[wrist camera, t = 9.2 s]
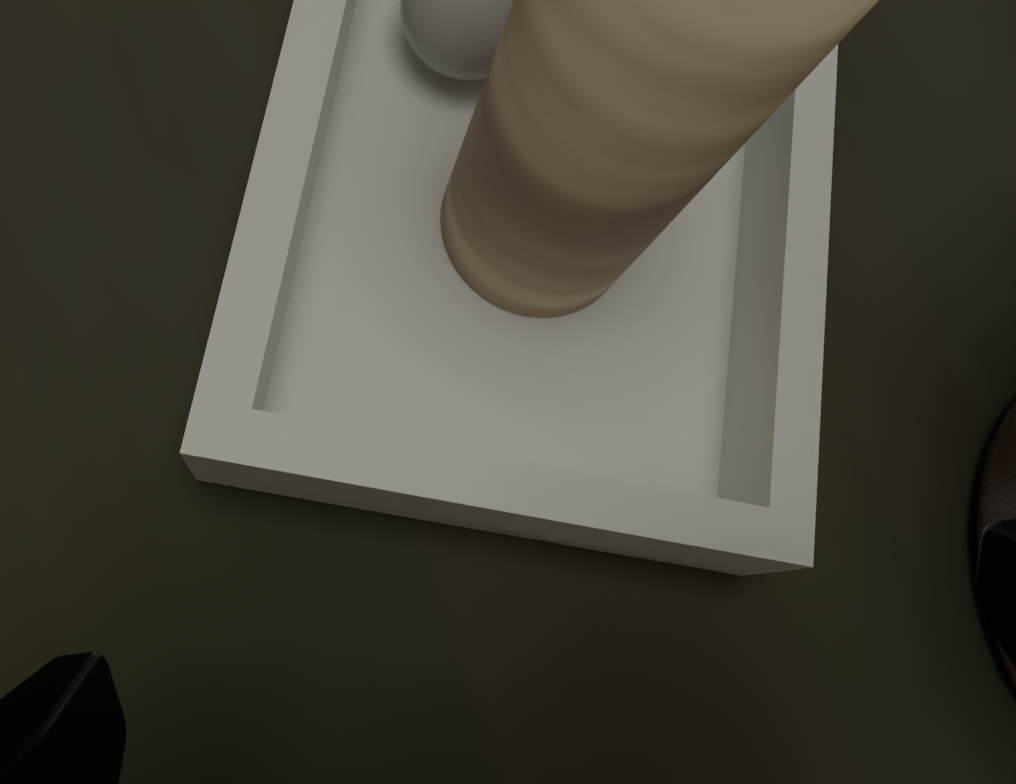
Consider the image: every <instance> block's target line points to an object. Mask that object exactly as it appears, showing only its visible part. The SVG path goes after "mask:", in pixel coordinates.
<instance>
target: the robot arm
mask: <svg viewBox="0 0 1016 784" xmlns="http://www.w3.org/2000/svg"><path fill="white" fill-rule="evenodd" d="M975 598H976V602H977V606H978V608H979V610H980V612H981V614H982V616H983V618H984V619H985V621H986V622H987V624H988V626H989V627H990V629H991V630H992V632H993V634H994V635H995V637H996V638H997V640H998V642H999V643H1000V645H1001V646H1002V648H1003V650H1004V651H1005V653H1006V654H1007V656H1008V658H1009V659H1010V661H1011V662H1012V664H1013V666H1014V667H1015V669H1016V518H1015V519H1009V520H1002V521H995V522H991V523H990V524H988V525H987V526H986V527H985V529H984V530H983V532H982V536H981V542H980V550H979V558H978V565H977V573H976V580H975ZM125 743H126V722H125V717H124V713H123V710H122V707H121V704H120V700H119V697H118V694H117V691H116V688H115V684H114V681H113V678H112V675H111V672H110V668H109V665H108V663H107V661H106V659H105V658H104V656H103V655H102V654H100V653H98V652H96V651H92V652H85V653H78V654H71V655H64V656H59V657H56V658H54V659H52V660H51V661H50V662H48V663H47V664H46V665H44V666H43V667H42V668H41V669H39V670H38V671H37V672H35V673H34V674H33V675H31V676H30V677H29V678H27V679H26V680H25V681H24V682H22V683H21V684H20V685H18V686H17V687H16V688H14V689H13V690H12V691H11V692H9V693H8V694H7V695H5V696H4V697H3V698H1V699H0V784H119V778H120V772H121V767H122V761H123V755H124V749H125Z"/></svg>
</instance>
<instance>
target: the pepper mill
mask: <svg viewBox="0 0 1016 784" xmlns="http://www.w3.org/2000/svg"><path fill="white" fill-rule="evenodd" d="M878 1H879V0H513V3H512V6H511V9H510V11H509V14H508V17H507V20H506V23H505V25H504V28H503V31H502V34H501V37H500V39H499V42H498V45H497V48H496V51H495V53H494V56H493V59H492V62H491V64H490V67H489V70H488V73H487V76H486V78H485V81H484V84H483V87H482V90H481V92H480V95H479V98H478V101H477V104H476V106H475V109H474V112H473V115H472V117H471V120H470V123H469V126H468V129H467V131H466V134H465V137H464V140H463V143H462V145H461V148H460V151H459V154H458V157H457V159H456V162H455V165H454V168H453V171H452V173H451V176H450V179H449V182H448V184H447V187H446V190H445V193H444V196H443V200H442V205H441V211H440V227H441V235H442V239H443V243H444V247H445V249H446V252H447V254H448V257H449V259H450V261H451V263H452V264H453V266H454V268H455V270H456V271H457V272H458V274H459V275H460V276H461V278H462V279H463V280H464V282H465V283H466V284H467V285H468V286H469V287H470V288H471V289H472V290H473V291H475V292H476V293H477V294H478V295H479V296H481V297H482V298H483V299H485V300H486V301H488V302H490V303H491V304H493V305H494V306H497V307H499V308H501V309H503V310H505V311H508V312H511V313H514V314H517V315H521V316H526V317H533V318H555V317H560V316H565V315H569V314H572V313H575V312H578V311H580V310H582V309H584V308H586V307H588V306H589V305H591V304H592V303H593V302H595V301H596V300H598V299H599V298H600V297H601V296H602V295H603V294H604V293H605V292H606V291H607V290H608V289H609V288H610V287H611V286H612V285H613V284H614V283H615V281H616V280H617V279H618V278H619V277H620V276H621V275H622V274H623V273H624V272H625V271H626V270H627V269H628V268H629V267H630V265H631V264H632V263H633V262H634V261H635V260H636V259H637V258H638V257H639V256H640V255H641V254H642V253H643V252H644V251H645V249H646V248H647V247H648V246H649V245H650V244H651V243H652V242H653V241H654V240H655V239H656V238H657V237H658V236H659V234H660V233H661V232H662V231H663V230H664V229H665V228H666V227H667V226H668V225H669V224H670V223H671V222H672V221H673V220H674V218H675V217H676V216H677V215H678V214H679V213H680V212H681V211H682V210H683V209H684V208H685V207H686V206H687V205H688V204H689V202H690V201H691V200H692V199H693V198H694V197H695V196H696V195H697V194H698V193H699V192H700V191H701V190H702V189H703V188H704V186H705V185H706V184H707V183H708V182H709V181H710V180H711V179H712V178H713V177H714V176H715V175H716V174H717V173H718V172H719V170H720V169H721V168H722V167H723V166H724V165H725V164H726V163H727V162H728V161H729V160H730V159H731V158H732V157H733V155H734V154H735V153H736V152H737V151H738V150H739V149H740V148H741V147H742V146H743V145H744V144H745V143H746V142H747V141H748V139H749V138H750V137H751V136H752V135H753V134H754V133H755V132H756V131H757V130H758V129H759V128H760V127H761V126H762V125H763V123H764V122H765V121H766V120H767V119H768V118H769V117H770V116H771V115H772V114H773V113H774V112H775V111H776V110H777V109H778V107H779V106H780V105H781V104H782V103H783V102H784V101H785V100H786V99H787V98H788V97H789V96H790V95H791V94H792V93H793V91H794V90H795V89H796V88H797V87H798V86H799V85H800V84H801V83H802V82H803V81H804V80H805V79H806V78H807V76H808V75H809V74H810V73H811V72H812V71H813V70H814V69H815V68H816V67H817V66H818V65H819V64H820V63H821V62H822V60H823V59H824V58H825V57H826V56H827V55H828V54H829V53H830V52H831V51H832V50H833V49H834V48H835V47H836V46H837V44H838V43H839V42H840V41H841V40H842V39H843V38H844V37H845V36H846V35H847V34H848V33H849V32H850V31H851V30H852V28H853V27H854V26H855V25H856V24H857V23H858V22H859V21H860V20H861V19H862V18H863V17H864V16H865V15H866V13H867V12H868V11H869V10H870V9H871V8H872V7H873V6H874V5H875V4H876V3H877V2H878Z"/></svg>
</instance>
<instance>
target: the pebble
mask: <svg viewBox="0 0 1016 784" xmlns="http://www.w3.org/2000/svg"><path fill="white" fill-rule="evenodd" d="M512 3H513V0H400V17H401V23H402V27H403V30H404V33H405V36H406V38H407V40H408V43H409V45H410V46H411V48H412V49H413V51H414V52H415V54H416V55H417V56H418V57H419V59H420V60H421V61H422V62H423V63H424V64H425V65H427V66H428V67H429V68H431V69H432V70H434V71H435V72H437V73H439V74H441V75H443V76H445V77H448V78H451V79H455V80H461V81H477V80H483V79H485V78H486V76H487V73H488V70H489V67H490V64H491V62H492V59H493V56H494V53H495V51H496V48H497V45H498V42H499V39H500V37H501V34H502V31H503V28H504V25H505V23H506V20H507V17H508V14H509V11H510V9H511V6H512Z"/></svg>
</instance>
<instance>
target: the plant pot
mask: <svg viewBox="0 0 1016 784" xmlns="http://www.w3.org/2000/svg"><path fill="white" fill-rule="evenodd" d="M1015 518H1016V401H1015V402H1014V404H1013V405H1012V406H1011V408H1010V409H1009V410H1008V411H1007V413H1006V414H1005V416H1004V418H1003V420H1002V422H1001V424H1000V426H999V428H998V430H997V432H996V434H995V437H994V439H993V442H992V444H991V446H990V449H989V451H988V454H987V459H986V463H985V467H984V471H983V476H982V480H981V484H980V492H979V500H978V509H977V547H978V558H979V550H980V542H981V536H982V532H983V530H984V529H985V527H986V526H987V525H988V524H990V523H991V522H995V521H1002V520H1009V519H1015ZM994 637H995V635H994ZM995 640H996V642H997V645H998V648H999V650H1000V653H1001V656H1002V659H1003V661H1004V664H1005V667H1006V669H1007V671H1008V673H1009V675H1010V677H1011V679H1012V681H1013V683H1014V684H1015V686H1016V669H1015V667H1014V666H1013V664H1012V662H1011V661H1010V659H1009V658H1008V656H1007V654H1006V653H1005V651H1004V650H1003V648H1002V646H1001V645H1000V643H999V642H998V640H997V638H996V637H995Z"/></svg>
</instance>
